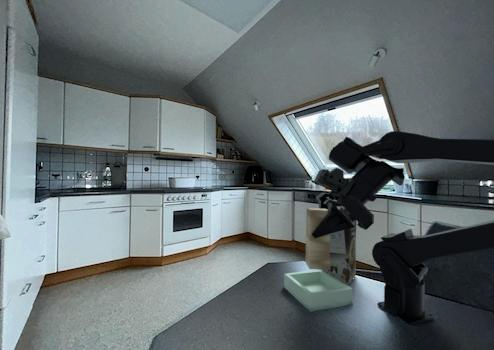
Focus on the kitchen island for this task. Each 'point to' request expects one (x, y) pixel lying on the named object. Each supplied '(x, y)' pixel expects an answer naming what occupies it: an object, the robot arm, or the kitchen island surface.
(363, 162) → the robot arm
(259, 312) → the kitchen island surface
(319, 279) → the tray
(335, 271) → the coffee box
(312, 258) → the oak block
